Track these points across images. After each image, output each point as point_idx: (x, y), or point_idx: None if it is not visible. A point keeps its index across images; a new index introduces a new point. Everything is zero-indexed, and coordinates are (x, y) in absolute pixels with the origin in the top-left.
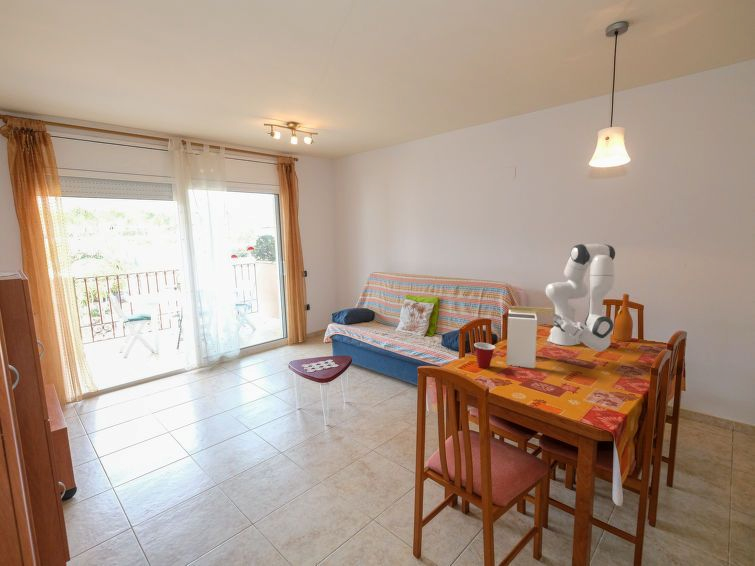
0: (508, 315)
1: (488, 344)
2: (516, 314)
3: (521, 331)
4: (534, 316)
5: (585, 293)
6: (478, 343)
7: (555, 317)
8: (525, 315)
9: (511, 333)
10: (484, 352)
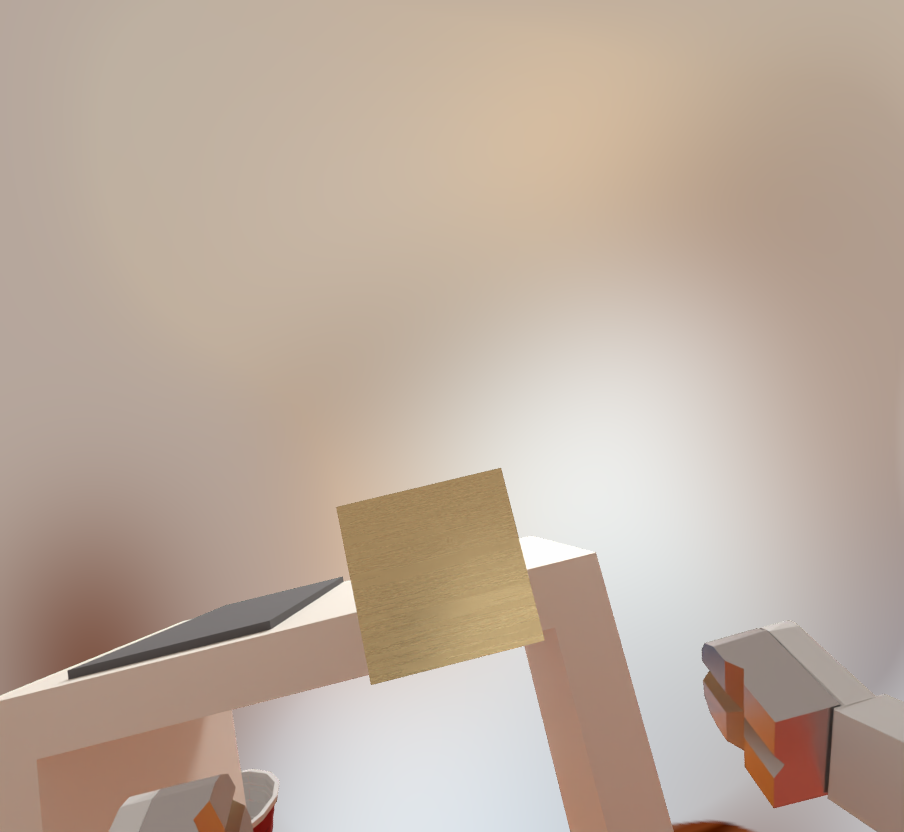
0: (254, 598)
1: (259, 817)
2: (298, 593)
3: None
4: (167, 646)
5: None
6: (265, 779)
7: (131, 799)
8: (244, 614)
9: None
10: None
